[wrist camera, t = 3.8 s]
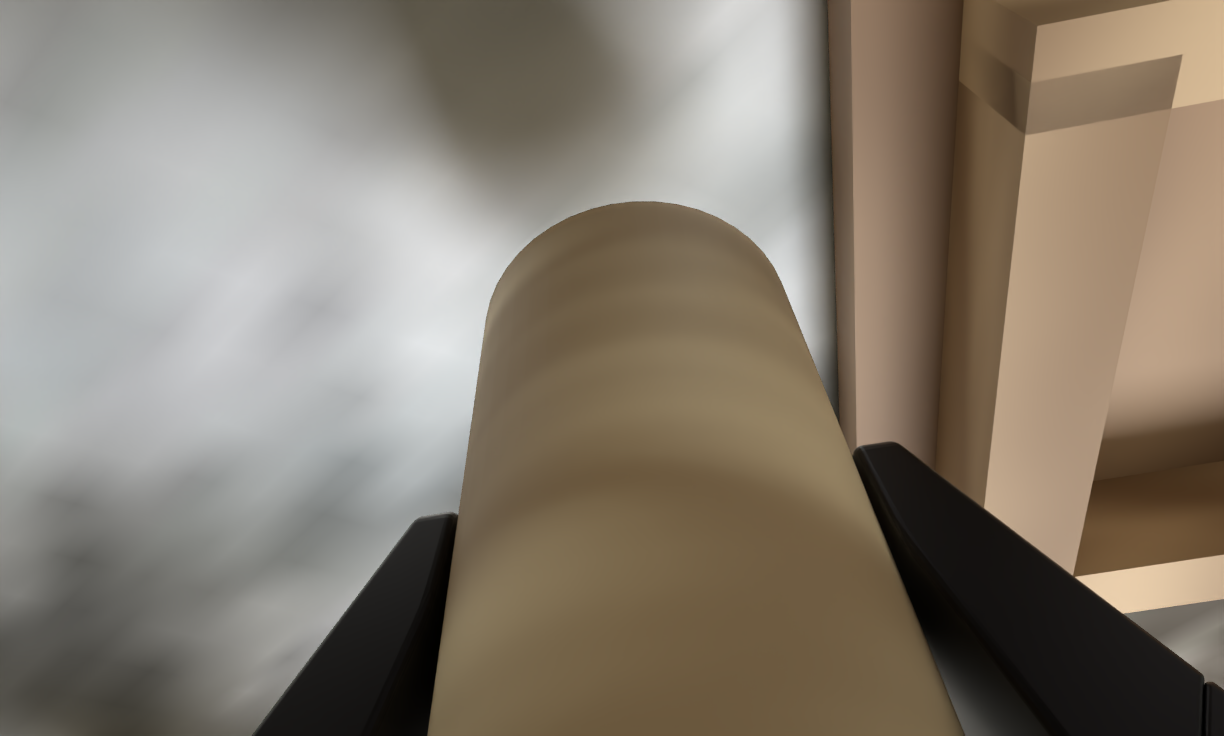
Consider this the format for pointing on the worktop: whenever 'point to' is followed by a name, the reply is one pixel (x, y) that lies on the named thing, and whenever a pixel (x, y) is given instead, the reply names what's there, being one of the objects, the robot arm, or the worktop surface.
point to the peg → (667, 508)
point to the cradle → (1041, 270)
